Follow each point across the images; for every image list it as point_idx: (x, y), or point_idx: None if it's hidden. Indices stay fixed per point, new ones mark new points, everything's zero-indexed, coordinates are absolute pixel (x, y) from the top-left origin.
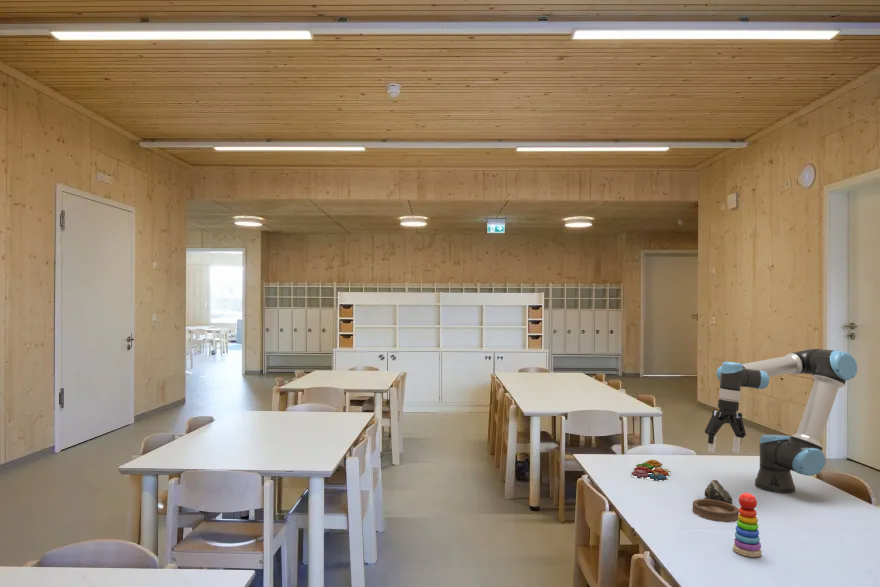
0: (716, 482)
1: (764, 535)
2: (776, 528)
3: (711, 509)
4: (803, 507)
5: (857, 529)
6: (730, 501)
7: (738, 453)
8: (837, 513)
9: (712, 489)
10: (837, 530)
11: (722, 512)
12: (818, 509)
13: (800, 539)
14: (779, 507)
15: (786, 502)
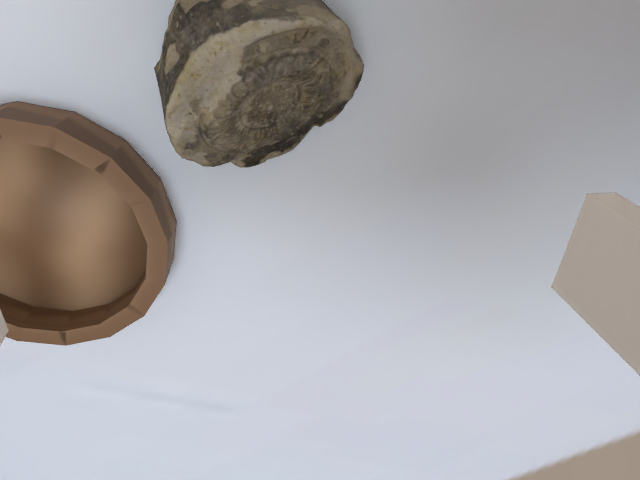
0: (287, 34)
1: (102, 432)
2: (217, 403)
3: (51, 194)
4: None
5: (496, 459)
6: (284, 143)
7: (562, 289)
8: None
9: (162, 99)
10: (423, 453)
11: None
12: None
13: (210, 472)
14: (500, 253)
15: None
